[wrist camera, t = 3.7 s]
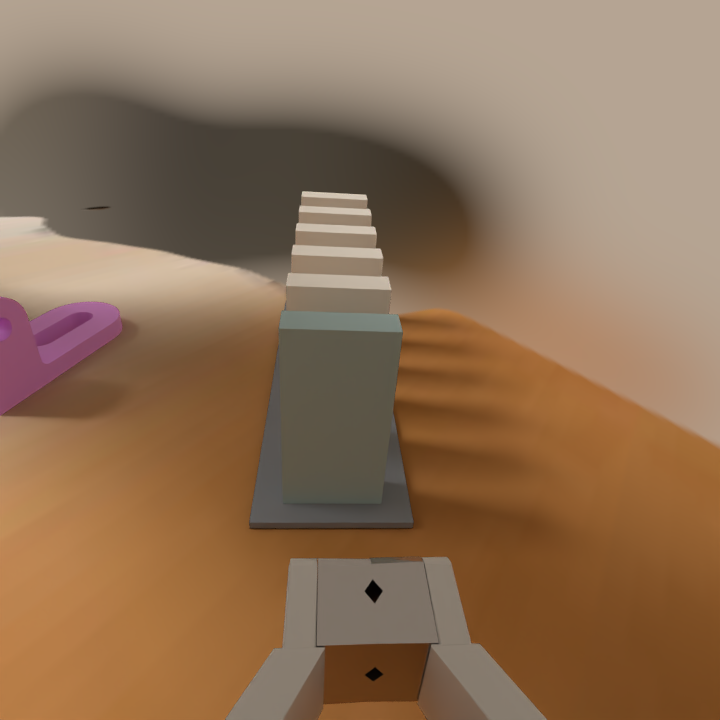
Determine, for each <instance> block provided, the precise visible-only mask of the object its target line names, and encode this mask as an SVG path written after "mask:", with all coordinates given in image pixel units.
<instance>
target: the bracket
mask: <svg viewBox="0 0 720 720" xmlns="http://www.w3.org/2000/svg"><path fill="white" fill-rule="evenodd" d="M73 329H74V330H73ZM121 331H122V323H121V318H120V313H119V310H118V309H117V308H116V307H115V306H113V305H110V304H107V303H102V302H80V303H73V304H68V305H64V306H61V307H58V308H55V309H53V310H50V311H49V312H47V313H45V314H43V315H41V316H39V317H37V318H35V319H33V320H31V321H30V322H29V320H28V316H27V314H26V312H25V310H24V308H23V307H22V306H21V305H20V304H19V303H18V302H16V301H15V300H12V299H9V298H5V297H0V416H1V415H2V414H4V413H5V412H7V411H8V410H10V409H11V408H13V407H14V406H15V405H17V404H18V403H20V402H21V401H23V400H24V399H26V398H27V397H29V396H30V395H32V394H33V393H35V392H36V391H38V390H39V389H40V388H42V387H43V386H45V385H46V384H48V383H49V382H51V381H52V380H54V379H55V378H57V377H58V376H60V375H61V374H63V373H64V372H65V371H67V370H68V369H70V368H71V367H73V366H74V365H76V364H77V363H79V362H80V361H82V360H83V359H85V358H86V357H88V356H89V355H90V354H92V353H93V352H95V351H96V350H98V349H99V348H101V347H102V346H104V345H105V344H107V343H108V342H110V341H111V340H113V339H114V338H115V337H117V336H118V335H119V334H120V333H121ZM68 332H69V333H68ZM63 335H64V336H63Z"/></svg>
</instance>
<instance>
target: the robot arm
mask: <svg viewBox="0 0 720 720" xmlns="http://www.w3.org/2000/svg"><path fill="white" fill-rule="evenodd" d="M370 701H371V702H381V701H418V706H419V707H420V709H421V711H422V712H423V714H424V715H425V717H426V719H427V720H547V719H546V718H545V717H544V716H543V714H542V713H541V712H540V711H539V710H538V709H537V708H536V707H535V705H534V704H533V703H532V702H531V701H530V700H529V699H528V697H527V696H526V695H525V694H524V693H523V692H522V691H521V690H520V688H519V687H518V686H517V685H516V684H515V683H514V682H513V681H512V679H511V678H510V677H509V676H508V675H507V674H506V673H505V672H504V670H503V669H502V668H501V667H500V666H499V665H498V664H497V663H496V661H495V660H494V659H493V658H492V657H491V656H490V655H489V654H488V652H487V651H486V650H485V649H484V648H483V647H482V646H481V645H480V644H478V643H471V640H470V636H469V632H468V628H467V624H466V620H465V616H464V612H463V608H462V604H461V600H460V596H459V592H458V588H457V584H456V580H455V576H454V572H453V568H452V564H451V561H450V560H449V558H448V557H422V558H421V557H384V558H369V559H330V558H318V581H317V558H291V559H290V564H289V570H288V583H287V596H286V609H285V621H284V634H283V647H282V648H274V649H273V651H272V652H271V653H270V655H269V656H268V658H267V659H266V661H265V662H264V664H263V665H262V667H261V668H260V669H259V671H258V672H257V674H256V675H255V677H254V678H253V680H252V681H251V682H250V684H249V685H248V687H247V688H246V690H245V691H244V693H243V694H242V695H241V697H240V698H239V700H238V701H237V703H236V704H235V706H234V707H233V708H232V710H231V711H230V713H229V714H228V716H227V717H226V719H225V720H318V718H319V716H320V714H321V712H322V710H323V704H339V703H355V702H370Z"/></svg>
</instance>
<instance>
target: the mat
mask: <svg viewBox="0 0 720 720" xmlns="http://www.w3.org/2000/svg"><path fill="white" fill-rule="evenodd" d="M284 311H286V303H285V309H284ZM413 523H414V522H413V517H412V511H411V506H410V500H409V495H408V489H407V484H406V479H405V473H404V468H403V462H402V457H401V451H400V446H399V440H398V435H397V429H396V424H395V418H394V413H393V415H392V423H391V431H390V438H389V446H388V454H387V462H386V470H385V478H384V486H383V494H382V502H381V504H284V503H283V495H282V452H281V409H280V366H279V345H278V351H277V357H276V363H275V369H274V376H273V382H272V388H271V394H270V400H269V406H268V412H267V418H266V424H265V430H264V436H263V442H262V448H261V454H260V460H259V467H258V473H257V479H256V485H255V491H254V497H253V503H252V509H251V515H250V521H249V526H250V528H413Z"/></svg>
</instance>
